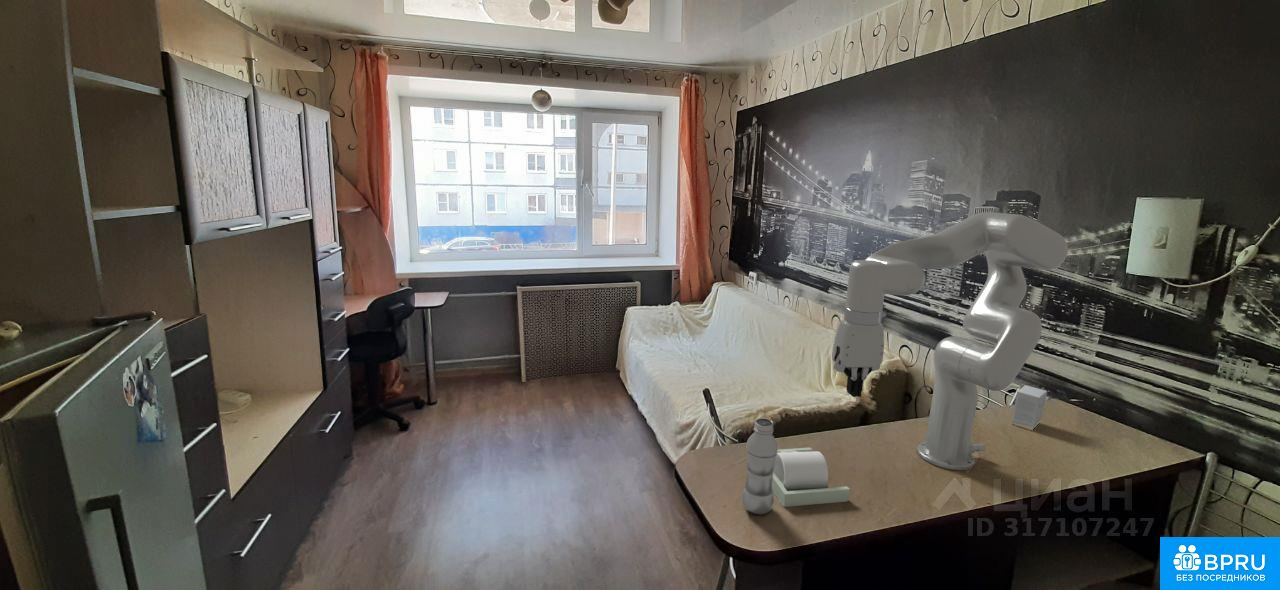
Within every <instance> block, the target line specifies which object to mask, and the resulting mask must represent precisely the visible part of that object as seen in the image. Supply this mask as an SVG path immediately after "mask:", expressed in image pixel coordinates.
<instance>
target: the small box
mask: <svg viewBox="0 0 1280 590" xmlns="http://www.w3.org/2000/svg"><path fill="white" fill-rule="evenodd" d="M1047 394H1048V390H1046V389H1041V388H1038V387H1034V386H1030V385H1028V384H1027V385H1026V384H1025V385H1024V386H1022V387H1021V388H1020V389H1019V390H1018V391H1016V396H1015V401H1014V407H1013V412H1012V418H1011V422H1012V423H1016V424H1021V425H1025V426H1029V427H1033V428H1034V427H1035V426H1036V425H1037V423H1038V422H1039V421H1040V420H1041V421H1042V418H1043V413H1044V410H1045V405H1046V399H1047V396H1048V395H1047Z"/></svg>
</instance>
